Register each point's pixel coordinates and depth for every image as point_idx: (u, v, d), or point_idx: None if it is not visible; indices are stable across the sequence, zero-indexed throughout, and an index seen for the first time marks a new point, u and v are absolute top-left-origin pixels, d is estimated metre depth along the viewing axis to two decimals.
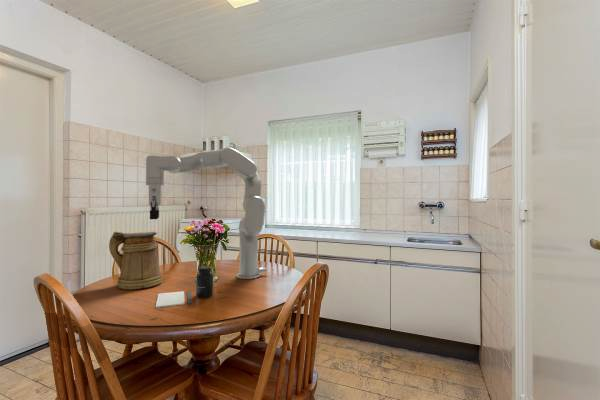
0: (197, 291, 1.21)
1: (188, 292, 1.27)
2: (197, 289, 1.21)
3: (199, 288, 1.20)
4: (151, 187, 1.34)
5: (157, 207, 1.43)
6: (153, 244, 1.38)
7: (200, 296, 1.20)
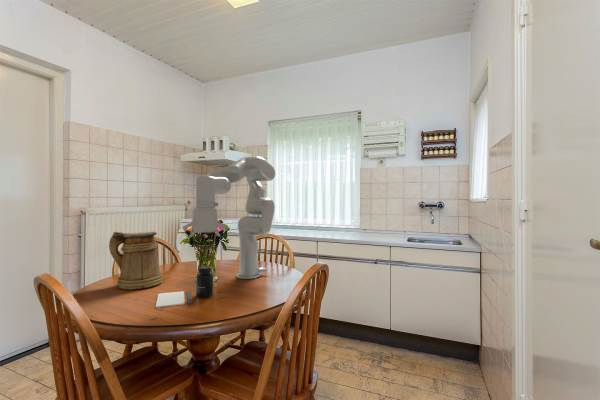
0: (197, 291, 1.21)
1: (188, 292, 1.27)
2: (197, 289, 1.21)
3: (199, 288, 1.20)
4: (216, 211, 1.24)
5: None
6: (153, 244, 1.38)
7: (200, 296, 1.20)
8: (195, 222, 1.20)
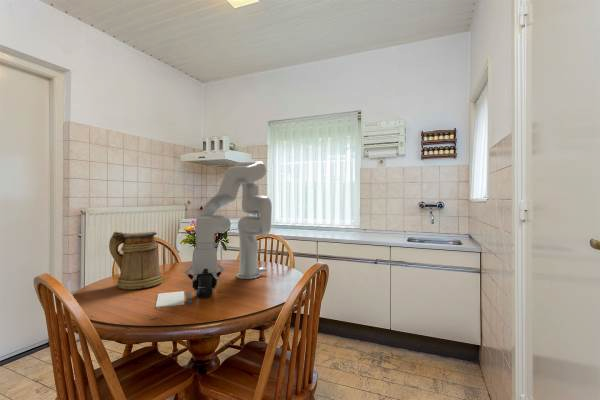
0: (197, 291, 1.21)
1: (188, 292, 1.27)
2: (197, 289, 1.21)
3: (199, 288, 1.20)
4: (216, 252, 1.24)
5: None
6: (153, 244, 1.38)
7: (200, 296, 1.20)
8: (195, 264, 1.20)
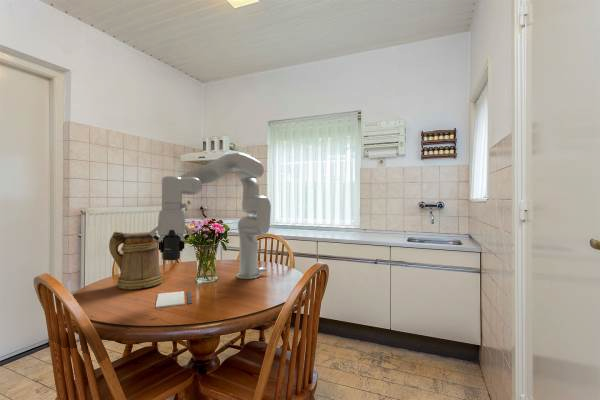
0: (163, 253, 1.16)
1: (188, 292, 1.27)
2: (163, 251, 1.16)
3: (165, 250, 1.16)
4: (183, 213, 1.19)
5: None
6: (153, 244, 1.38)
7: (166, 258, 1.15)
8: (161, 225, 1.15)
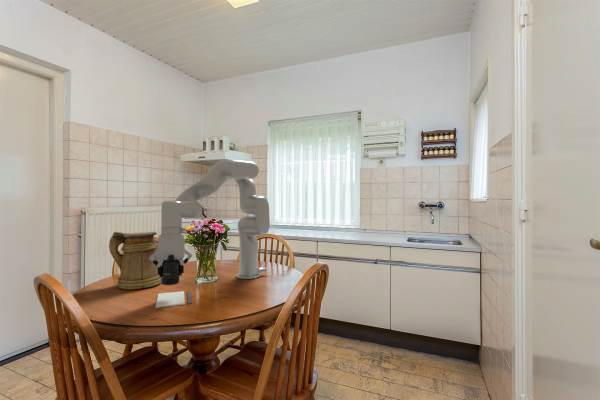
0: (162, 278, 1.16)
1: (188, 292, 1.27)
2: (162, 276, 1.16)
3: (164, 274, 1.15)
4: (183, 238, 1.19)
5: None
6: (153, 244, 1.38)
7: (165, 283, 1.15)
8: (160, 250, 1.15)
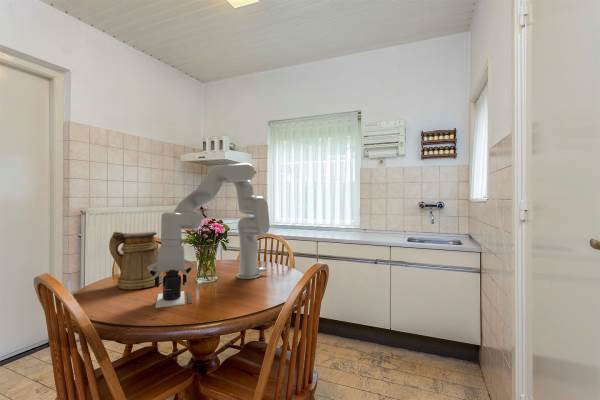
0: (163, 293, 1.16)
1: (188, 292, 1.27)
2: (163, 291, 1.16)
3: (165, 290, 1.16)
4: (183, 249, 1.19)
5: None
6: (153, 244, 1.38)
7: (166, 298, 1.16)
8: (160, 262, 1.15)
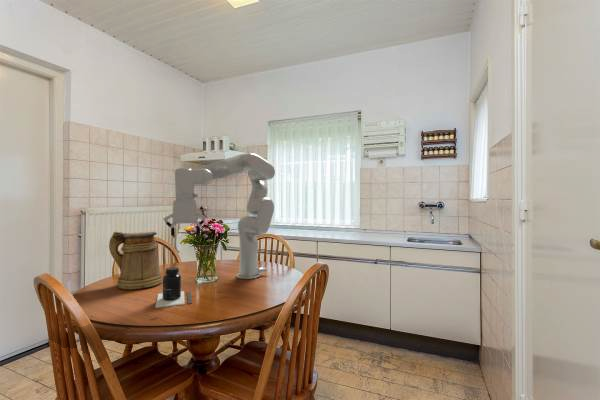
0: (163, 293, 1.16)
1: (188, 292, 1.27)
2: (163, 291, 1.16)
3: (165, 290, 1.16)
4: (196, 203, 1.29)
5: None
6: (153, 244, 1.38)
7: (166, 298, 1.16)
8: (176, 214, 1.25)
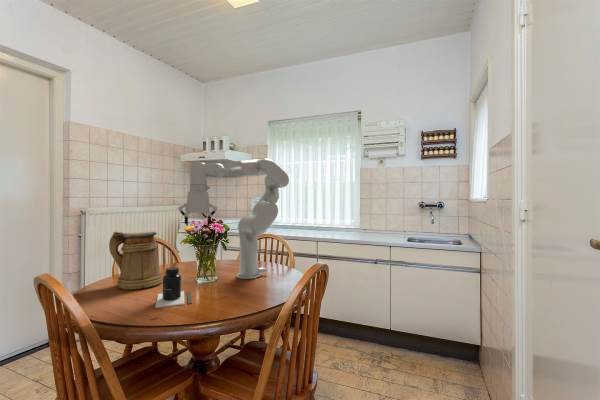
0: (163, 293, 1.16)
1: (188, 292, 1.27)
2: (163, 291, 1.16)
3: (165, 290, 1.16)
4: (208, 194, 1.39)
5: None
6: (153, 244, 1.38)
7: (166, 298, 1.16)
8: (189, 203, 1.35)
